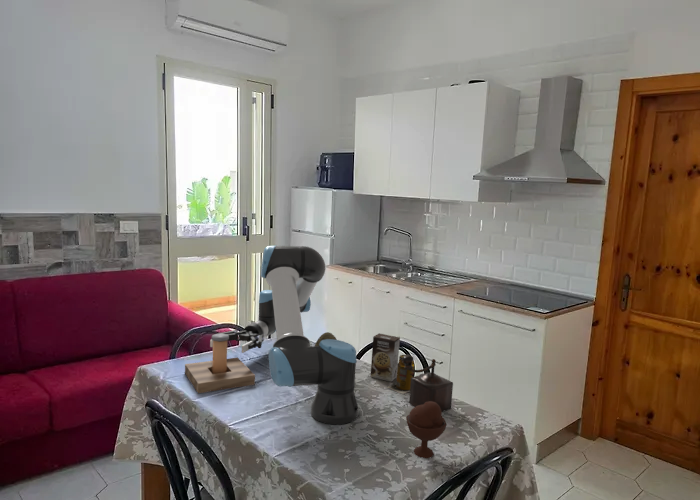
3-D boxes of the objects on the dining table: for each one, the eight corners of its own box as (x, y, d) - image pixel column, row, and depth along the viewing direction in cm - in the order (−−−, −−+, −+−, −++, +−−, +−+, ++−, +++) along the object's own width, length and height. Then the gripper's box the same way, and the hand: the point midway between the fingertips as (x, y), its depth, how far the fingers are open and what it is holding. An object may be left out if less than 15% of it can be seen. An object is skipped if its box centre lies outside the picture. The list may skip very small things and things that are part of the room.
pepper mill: (428, 396, 172) (432, 347, 170) (452, 408, 164) (456, 357, 162) (395, 405, 163) (399, 354, 161) (418, 419, 154) (422, 364, 152)
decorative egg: (333, 375, 187) (336, 338, 185) (308, 371, 190) (309, 334, 188) (342, 366, 197) (345, 330, 195) (318, 362, 200) (320, 327, 199)
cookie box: (369, 377, 188) (372, 336, 186) (375, 372, 194) (378, 332, 192) (391, 382, 184) (394, 340, 182) (397, 376, 190) (400, 336, 188)
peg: (229, 380, 177) (230, 337, 175) (213, 382, 174) (214, 339, 172) (224, 374, 182) (226, 333, 180) (208, 376, 179) (209, 334, 177)
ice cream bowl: (438, 443, 140) (442, 393, 138) (447, 464, 129) (451, 410, 127) (401, 441, 139) (405, 391, 138) (407, 463, 128) (411, 409, 127)
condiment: (417, 389, 179) (419, 357, 178) (402, 394, 173) (404, 362, 172) (402, 382, 184) (404, 352, 183) (387, 388, 178) (389, 356, 177)
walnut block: (254, 384, 174) (255, 375, 174) (198, 393, 164) (198, 383, 164) (237, 366, 191) (237, 357, 191) (184, 373, 181) (185, 364, 180)
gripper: (282, 345, 198) (255, 361, 178) (229, 336, 205) (198, 350, 185) (282, 327, 197) (256, 341, 177) (229, 319, 205) (198, 331, 185)
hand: (226, 346), depth 181 cm, fingers open, 13 cm apart
